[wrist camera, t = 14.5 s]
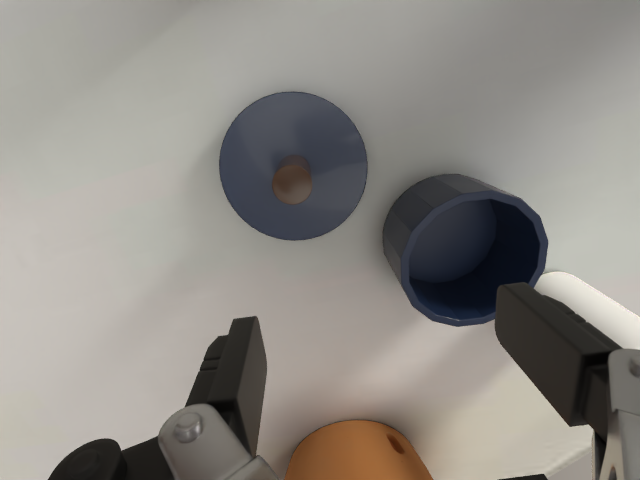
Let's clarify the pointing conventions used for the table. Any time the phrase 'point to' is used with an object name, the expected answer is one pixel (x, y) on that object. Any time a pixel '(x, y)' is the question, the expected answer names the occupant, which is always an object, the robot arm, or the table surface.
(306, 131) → the lid
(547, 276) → the can
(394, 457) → the flower pot
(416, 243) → the pot
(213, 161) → the table surface
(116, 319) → the table surface
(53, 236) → the table surface
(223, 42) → the table surface
